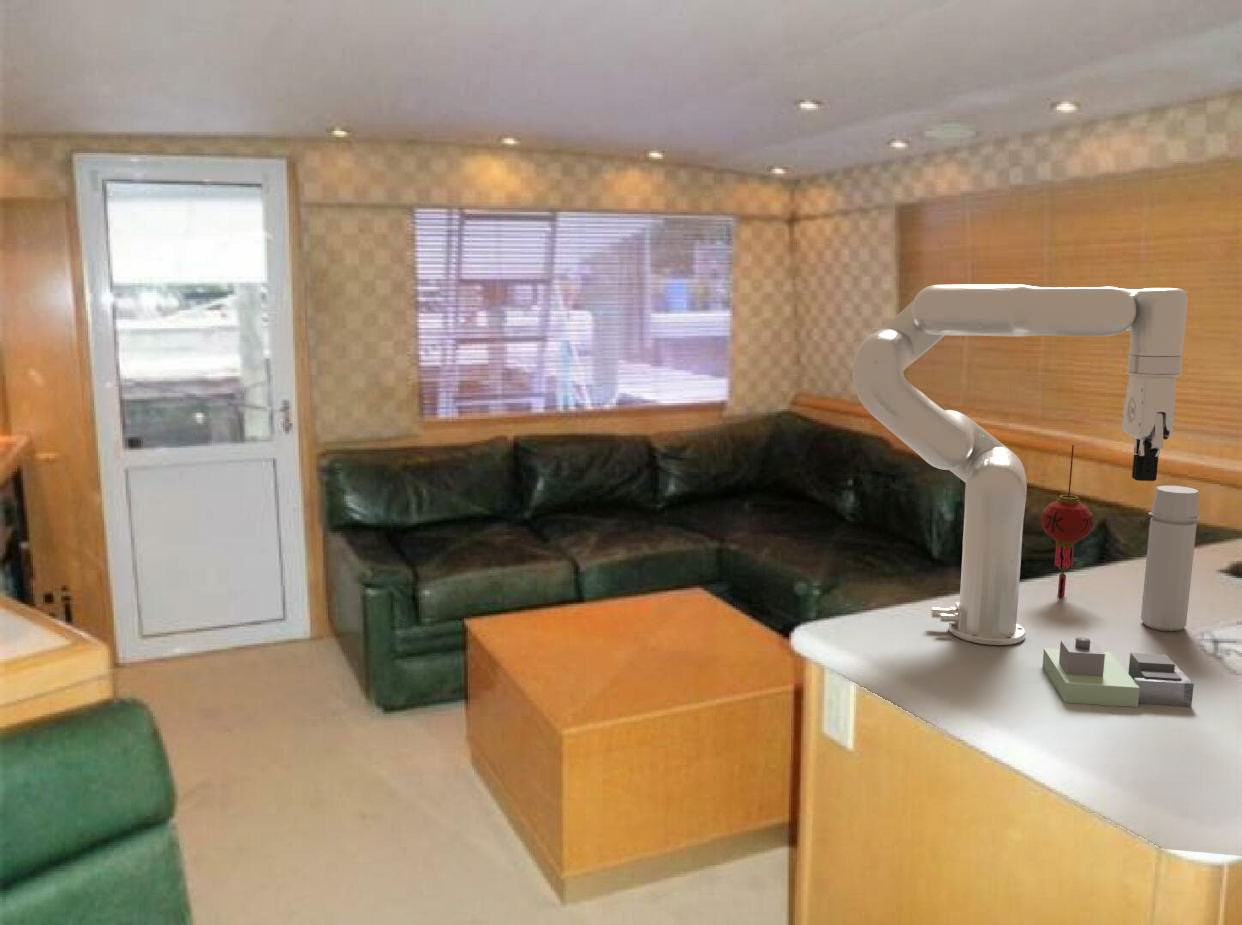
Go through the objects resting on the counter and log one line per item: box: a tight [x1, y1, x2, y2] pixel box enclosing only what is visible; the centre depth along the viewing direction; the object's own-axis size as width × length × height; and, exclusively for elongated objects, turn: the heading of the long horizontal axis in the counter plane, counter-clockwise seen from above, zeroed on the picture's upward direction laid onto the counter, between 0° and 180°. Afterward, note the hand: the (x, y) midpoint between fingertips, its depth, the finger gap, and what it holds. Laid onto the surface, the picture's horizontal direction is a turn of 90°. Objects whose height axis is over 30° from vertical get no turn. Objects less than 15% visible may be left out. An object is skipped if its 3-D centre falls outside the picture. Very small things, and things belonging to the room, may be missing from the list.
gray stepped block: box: [1127, 652, 1182, 681], centre depth 148 cm, size 5×7×5 cm
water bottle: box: [1140, 485, 1200, 632], centre depth 175 cm, size 9×8×25 cm
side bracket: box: [1134, 664, 1195, 707], centre depth 148 cm, size 8×8×4 cm
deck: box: [1042, 636, 1140, 708], centre depth 151 cm, size 10×14×8 cm
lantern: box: [1040, 444, 1095, 598], centre depth 191 cm, size 10×10×30 cm
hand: (1143, 479), depth 160 cm, fingers closed
